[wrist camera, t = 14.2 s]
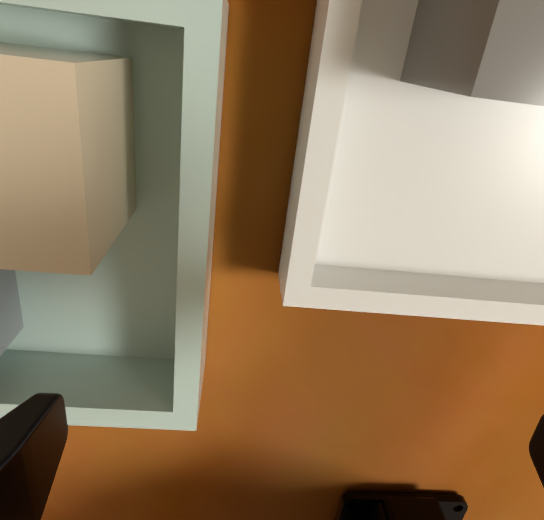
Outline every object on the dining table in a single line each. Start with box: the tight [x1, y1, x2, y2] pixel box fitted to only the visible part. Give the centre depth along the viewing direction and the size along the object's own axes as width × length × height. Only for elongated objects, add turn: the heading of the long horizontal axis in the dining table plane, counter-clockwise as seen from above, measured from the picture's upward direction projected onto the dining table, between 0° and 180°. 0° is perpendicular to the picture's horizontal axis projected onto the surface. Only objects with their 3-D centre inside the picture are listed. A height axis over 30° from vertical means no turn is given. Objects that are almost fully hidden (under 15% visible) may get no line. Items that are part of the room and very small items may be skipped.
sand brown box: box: [0, 42, 136, 276], centre depth 11 cm, size 4×4×5 cm
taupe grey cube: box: [400, 0, 544, 106], centre depth 10 cm, size 4×4×5 cm
